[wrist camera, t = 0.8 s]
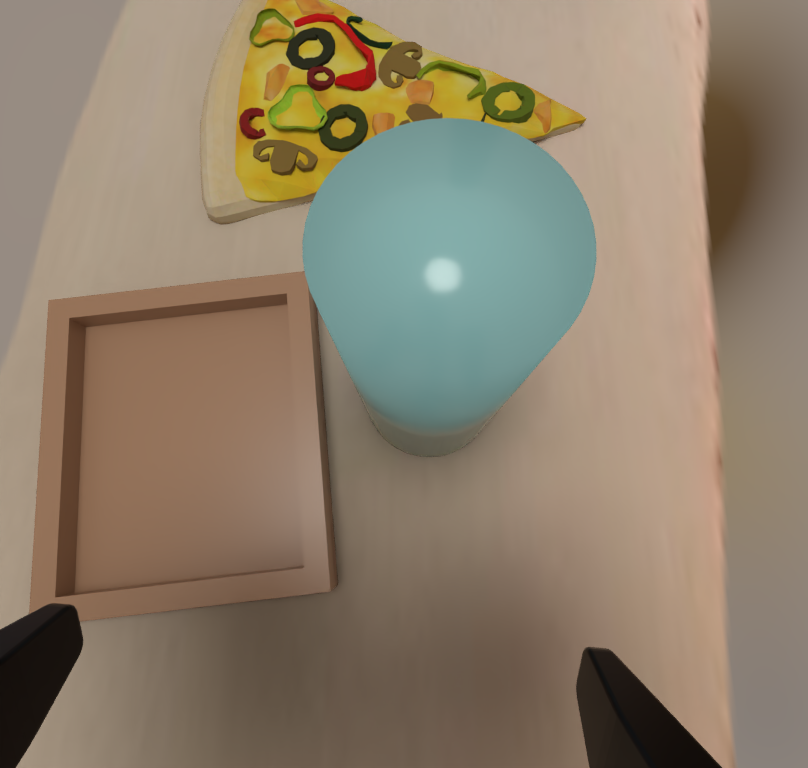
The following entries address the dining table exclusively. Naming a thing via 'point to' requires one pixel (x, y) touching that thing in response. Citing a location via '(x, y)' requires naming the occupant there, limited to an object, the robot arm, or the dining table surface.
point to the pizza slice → (332, 101)
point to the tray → (183, 450)
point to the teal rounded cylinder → (446, 273)
